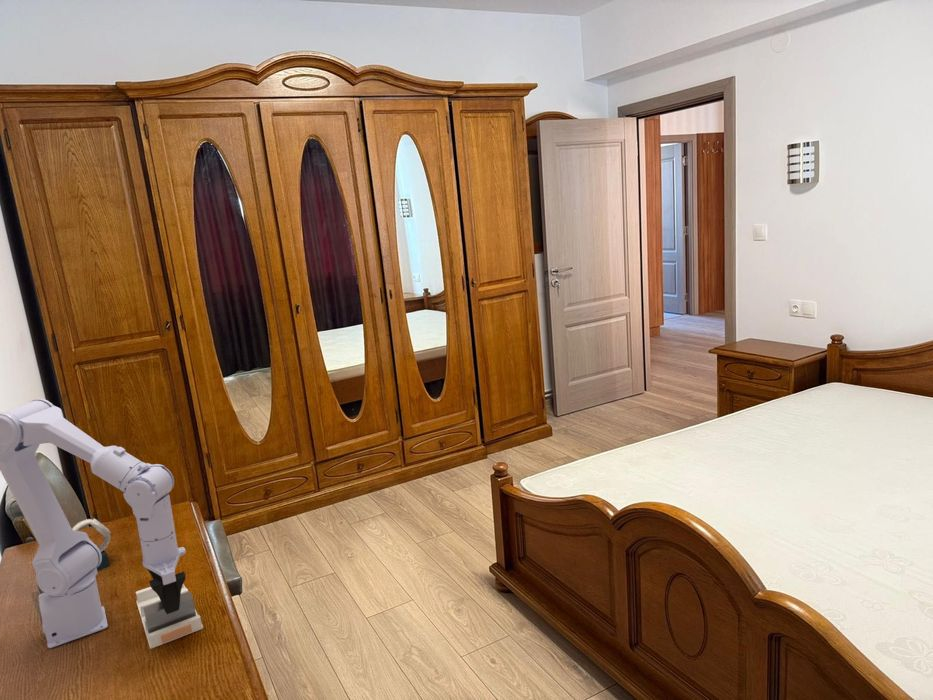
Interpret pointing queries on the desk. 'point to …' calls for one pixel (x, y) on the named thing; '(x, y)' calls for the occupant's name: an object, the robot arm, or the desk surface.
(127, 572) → the desk surface
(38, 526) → the robot arm
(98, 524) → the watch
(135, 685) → the desk surface
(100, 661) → the desk surface
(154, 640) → the rack
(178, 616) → the panel
